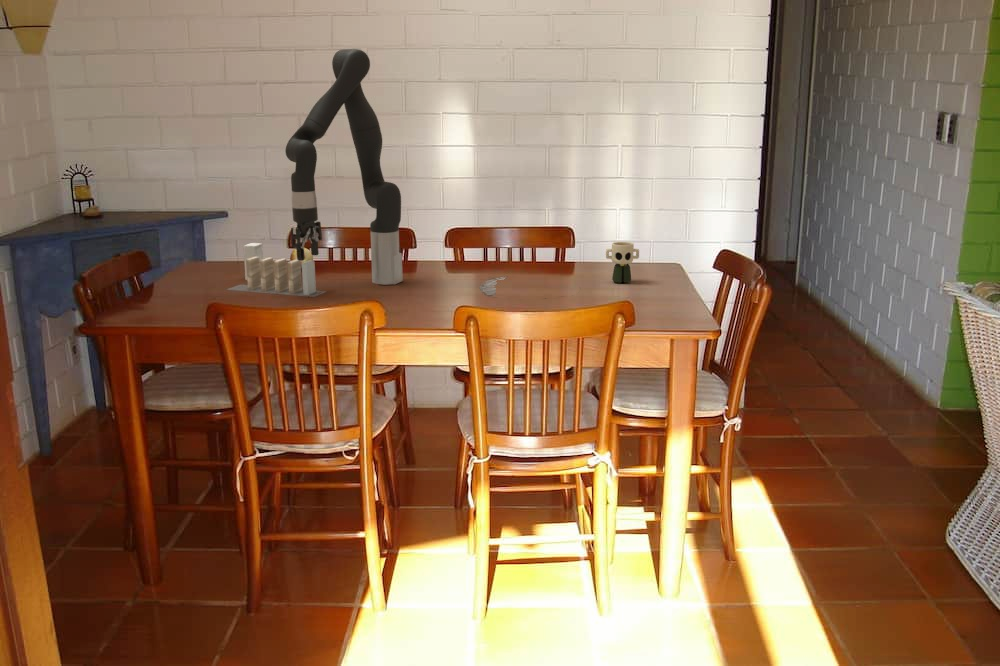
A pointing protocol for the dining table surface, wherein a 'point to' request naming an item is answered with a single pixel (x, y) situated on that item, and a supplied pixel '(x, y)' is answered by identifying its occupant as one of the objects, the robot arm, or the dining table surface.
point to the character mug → (622, 260)
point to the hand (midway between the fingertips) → (308, 257)
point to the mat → (245, 288)
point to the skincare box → (252, 253)
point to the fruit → (306, 253)
